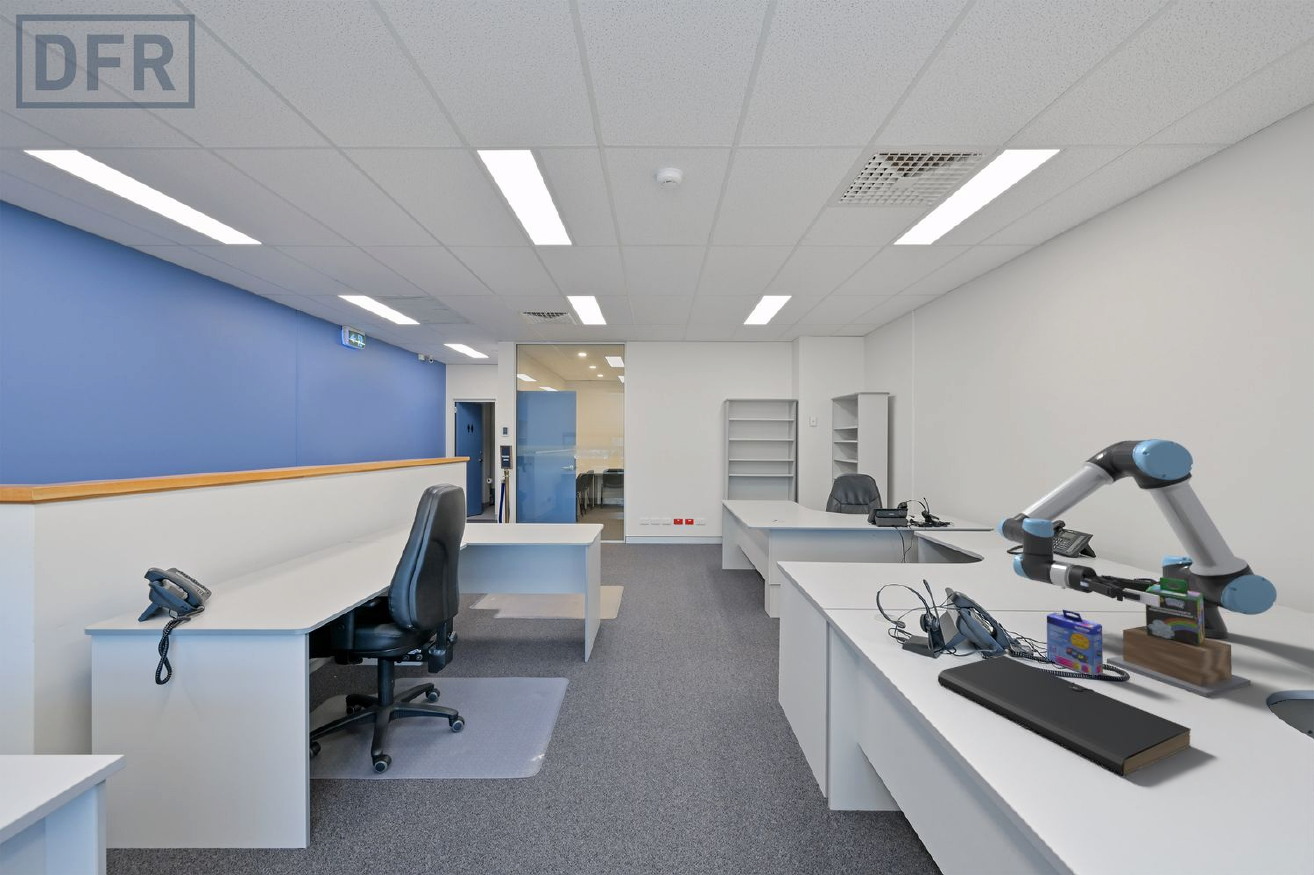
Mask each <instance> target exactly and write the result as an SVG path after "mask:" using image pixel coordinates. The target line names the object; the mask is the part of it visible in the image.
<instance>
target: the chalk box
mask: <svg viewBox="0 0 1314 875" xmlns="http://www.w3.org/2000/svg"><path fill="white" fill-rule="evenodd" d="M1168 583H1176V584H1178V585H1179V586H1180V588H1171V587H1169V586H1168V585H1167V584H1168ZM1159 585H1160V586H1151V587H1149V588H1148V589H1147V590H1146V591H1145V593H1149V594H1154V595H1158V596H1160V607H1156V606H1152V605H1148V604H1144V605H1145V624H1146V625H1145V626H1146V631H1147V635H1153V636H1157V637H1161V638H1165V639H1170V640H1173V641H1178V642H1182V643H1186V644H1190V645H1194V646H1200V645H1201V643H1202V642H1203V640H1204V639H1205V638H1206V637H1205V630H1204V608H1203V594H1202V593H1199V592H1193V591H1188V589H1187V582H1186V581H1183V580H1177V579H1171V578H1164V577H1163V576H1161V577H1160V578H1159Z"/></svg>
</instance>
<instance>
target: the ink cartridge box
mask: <svg viewBox="0 0 1314 875" xmlns="http://www.w3.org/2000/svg"><path fill="white" fill-rule="evenodd" d="M1061 610H1062V613H1059V612H1053V613H1050V614H1046V660H1047V659H1049V660H1053V661H1054V662H1055V663H1054V664H1056V665H1058V666H1062V667H1065V668H1066V669H1069V670H1073V671H1075V672H1079V673H1081V672H1082V673H1081V674H1084V673H1086V674H1090V675H1096V676H1098V675H1097V674H1099V675H1101V674H1103V673H1104V664H1103V663H1104V662H1103V659H1104V658H1103V655H1104V654H1103V625H1102V624H1100V623H1097V622H1094V621H1090V620H1086V619H1083V618H1082V616H1081V614H1080V612H1076V611H1071V610H1067V609H1061ZM1069 614H1071V615H1069ZM1086 674H1085V675H1086Z"/></svg>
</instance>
